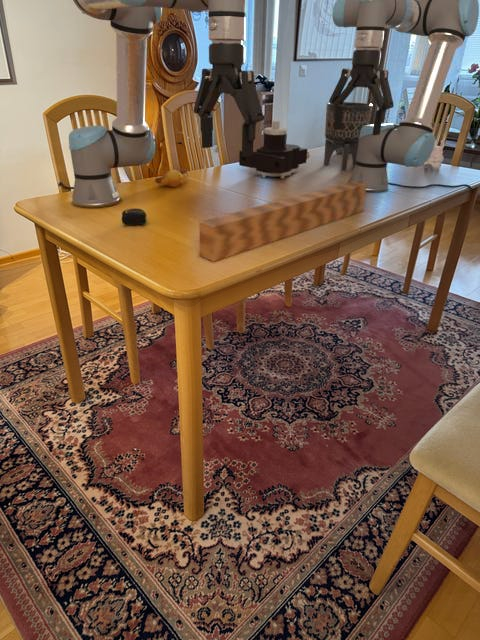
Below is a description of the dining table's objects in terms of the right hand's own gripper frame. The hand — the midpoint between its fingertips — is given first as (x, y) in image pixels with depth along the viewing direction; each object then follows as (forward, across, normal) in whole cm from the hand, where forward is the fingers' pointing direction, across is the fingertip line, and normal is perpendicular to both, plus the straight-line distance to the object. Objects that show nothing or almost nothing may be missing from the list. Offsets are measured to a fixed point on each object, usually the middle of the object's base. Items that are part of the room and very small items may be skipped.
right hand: (356, 132), depth 135 cm
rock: (+25, -62, +92) cm, 113 cm away
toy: (+25, -64, -21) cm, 72 cm away
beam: (+25, 0, -26) cm, 36 cm away
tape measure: (+25, -34, -58) cm, 71 cm away
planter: (+25, -43, +60) cm, 78 cm away
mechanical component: (+25, -52, +27) cm, 64 cm away
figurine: (+25, -14, +89) cm, 94 cm away
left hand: (0, 0, -52) cm, 52 cm away
